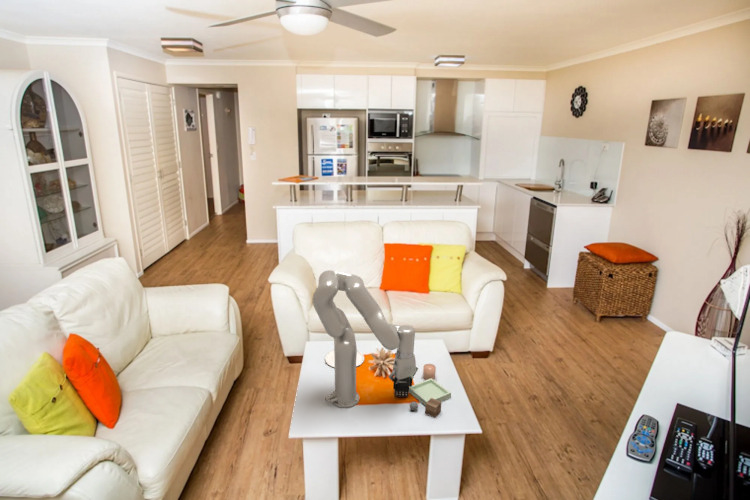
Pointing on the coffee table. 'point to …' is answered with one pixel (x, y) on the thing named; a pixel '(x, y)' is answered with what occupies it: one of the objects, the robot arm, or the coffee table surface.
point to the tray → (429, 391)
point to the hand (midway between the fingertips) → (402, 387)
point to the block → (433, 407)
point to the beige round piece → (429, 371)
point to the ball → (413, 405)
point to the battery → (403, 387)
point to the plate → (331, 359)
